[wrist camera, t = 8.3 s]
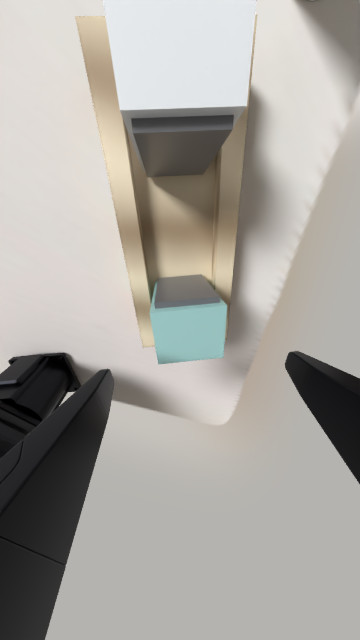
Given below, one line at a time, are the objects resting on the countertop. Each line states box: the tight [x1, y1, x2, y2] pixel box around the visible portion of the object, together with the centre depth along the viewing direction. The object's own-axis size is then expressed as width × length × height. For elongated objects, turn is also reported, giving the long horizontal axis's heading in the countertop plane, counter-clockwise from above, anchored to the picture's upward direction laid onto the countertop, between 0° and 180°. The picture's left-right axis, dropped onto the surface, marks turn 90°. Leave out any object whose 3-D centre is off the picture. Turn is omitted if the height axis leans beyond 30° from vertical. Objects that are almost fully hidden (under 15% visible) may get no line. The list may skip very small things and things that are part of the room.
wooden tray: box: [76, 15, 257, 347], centre depth 14 cm, size 20×9×3 cm, turn 3°
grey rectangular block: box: [103, 0, 257, 177], centre depth 8 cm, size 4×5×7 cm
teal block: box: [150, 274, 227, 364], centre depth 14 cm, size 4×5×7 cm
